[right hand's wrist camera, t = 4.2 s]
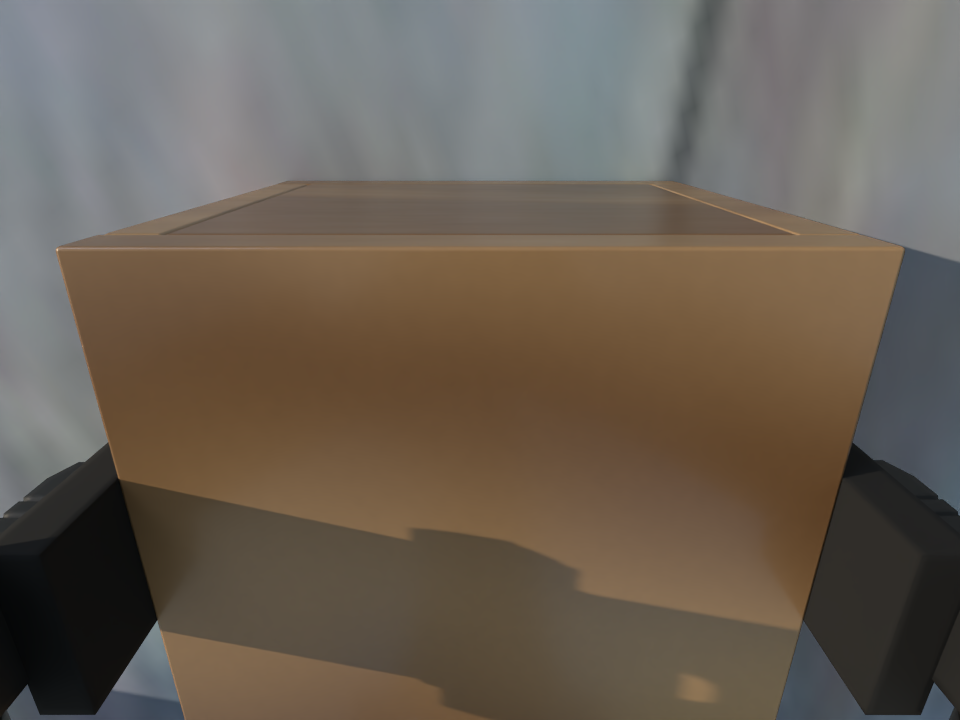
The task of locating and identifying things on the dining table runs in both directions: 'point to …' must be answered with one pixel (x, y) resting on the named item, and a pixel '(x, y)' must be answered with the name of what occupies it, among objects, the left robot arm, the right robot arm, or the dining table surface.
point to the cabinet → (480, 442)
